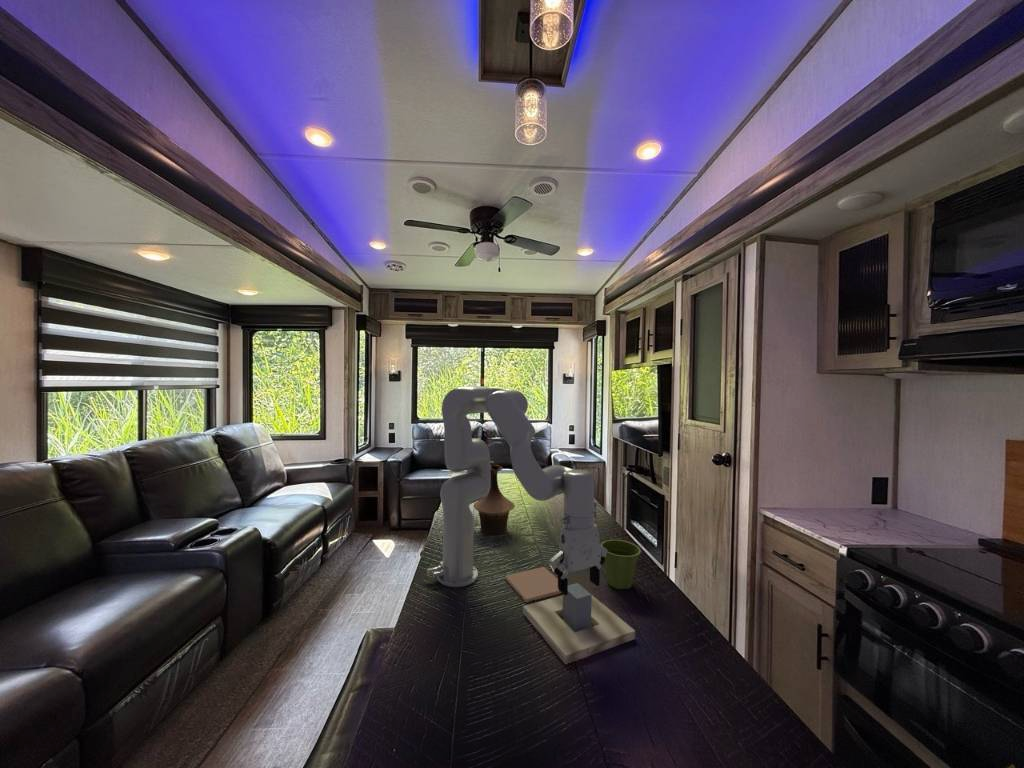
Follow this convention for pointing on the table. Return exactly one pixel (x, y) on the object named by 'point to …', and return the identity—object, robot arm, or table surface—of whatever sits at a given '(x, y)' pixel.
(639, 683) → the table surface
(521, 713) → the table surface
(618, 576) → the plant pot
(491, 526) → the brown vase
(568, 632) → the holder
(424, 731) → the table surface
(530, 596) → the tile
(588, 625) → the block
